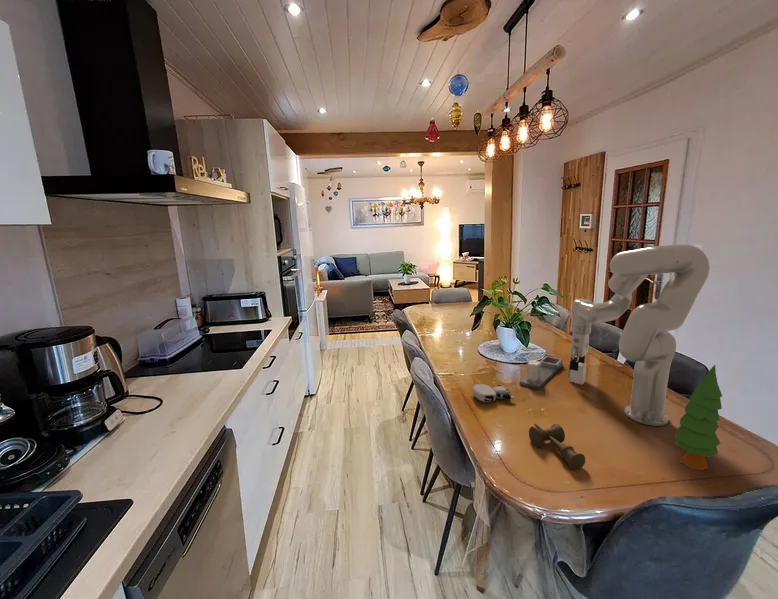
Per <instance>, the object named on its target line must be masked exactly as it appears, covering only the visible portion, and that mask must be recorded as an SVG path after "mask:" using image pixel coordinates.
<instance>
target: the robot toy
mask: <svg viewBox="0 0 778 599" xmlns="http://www.w3.org/2000/svg"><path fill="white" fill-rule="evenodd" d="M469 385H471V386H472V395H473V396H474V397H475V398H476V399H478V400H479V401H481V402H483V403H485V402H487V403H489V402H491V403H492V402H494V401H496V399H500V400H507V401H508V400H509V401H510V400H515V399H516V397H515V396H514V395H511V391H510V390H509V389H508V388H507V387H505V386H504V385H501V384H498V385H496V386H493V387H492V386H489V385H487V384H484V383H481V384H479V383H478V384H477V383H476V384H472V383H469Z"/></svg>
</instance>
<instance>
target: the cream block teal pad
mask: <svg viewBox="0 0 778 599" xmlns="http://www.w3.org/2000/svg"><path fill="white" fill-rule="evenodd" d="M569 368H570V363H569V364H568V373H567V374H568V377H567V378H568V379H569V382H570V383H573V382H574V384H578V385H583V384H584V383H586V375H587V374H586V373H587V364H586V363H585V362H584V363H579V366H578V371H575V370H571V369H569Z"/></svg>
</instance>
